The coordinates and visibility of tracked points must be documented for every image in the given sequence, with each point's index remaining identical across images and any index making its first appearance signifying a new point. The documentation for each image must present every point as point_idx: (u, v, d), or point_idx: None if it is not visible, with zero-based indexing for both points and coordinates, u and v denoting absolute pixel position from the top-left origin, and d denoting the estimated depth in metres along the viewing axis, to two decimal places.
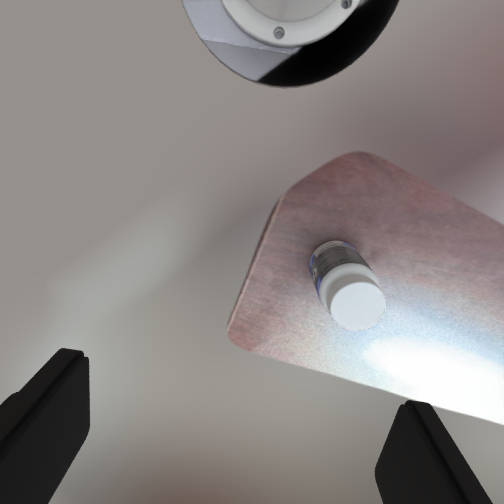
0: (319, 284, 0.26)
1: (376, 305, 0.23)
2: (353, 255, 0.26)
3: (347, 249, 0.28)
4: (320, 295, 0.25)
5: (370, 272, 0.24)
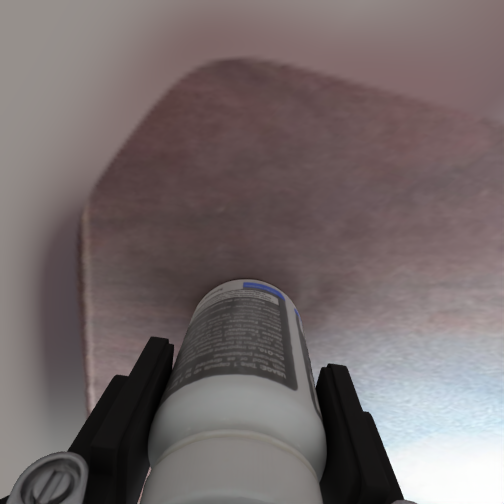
0: None
1: None
2: (242, 331, 0.10)
3: (240, 308, 0.11)
4: None
5: (270, 401, 0.08)
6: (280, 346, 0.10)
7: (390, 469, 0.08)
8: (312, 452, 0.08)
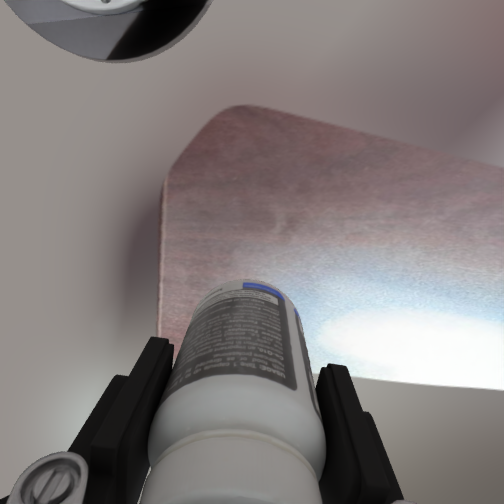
0: None
1: None
2: (241, 331, 0.10)
3: (240, 308, 0.11)
4: None
5: (270, 401, 0.08)
6: (280, 346, 0.10)
7: (389, 469, 0.08)
8: (311, 452, 0.08)
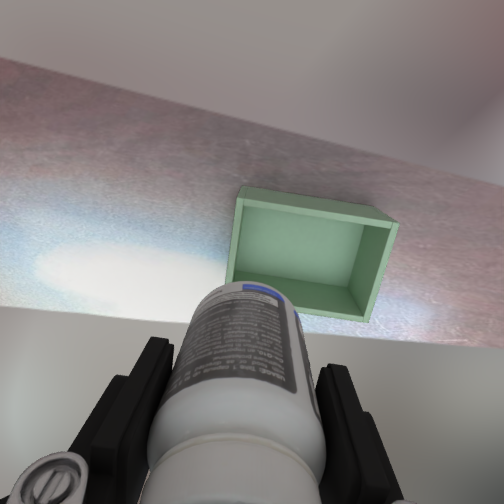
0: None
1: None
2: (241, 334, 0.10)
3: (239, 310, 0.11)
4: None
5: (270, 404, 0.08)
6: (279, 349, 0.09)
7: (390, 469, 0.08)
8: (311, 455, 0.08)
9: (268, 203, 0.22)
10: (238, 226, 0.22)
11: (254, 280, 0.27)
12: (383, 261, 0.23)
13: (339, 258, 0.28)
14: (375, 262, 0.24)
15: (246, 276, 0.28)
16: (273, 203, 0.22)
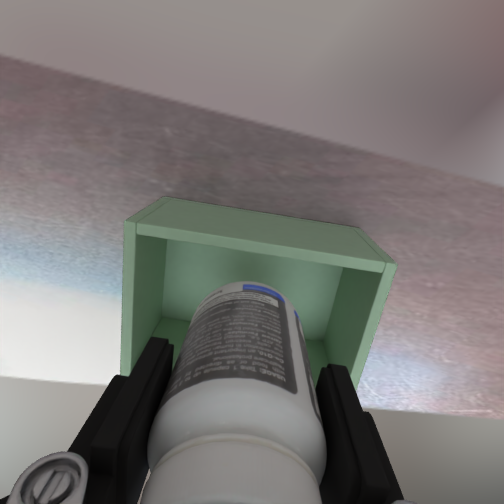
0: None
1: None
2: (242, 334, 0.10)
3: (240, 310, 0.11)
4: None
5: (270, 405, 0.08)
6: (280, 349, 0.09)
7: (390, 469, 0.08)
8: (312, 456, 0.08)
9: (177, 231, 0.13)
10: (131, 267, 0.13)
11: (184, 335, 0.19)
12: (371, 323, 0.14)
13: (310, 302, 0.19)
14: (359, 321, 0.15)
15: (174, 328, 0.19)
16: (186, 231, 0.13)
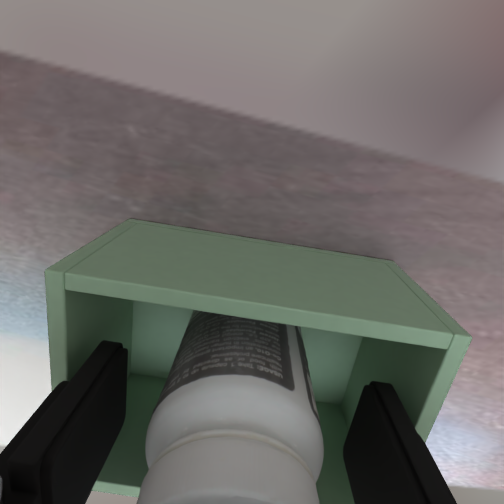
0: None
1: None
2: (239, 332, 0.10)
3: None
4: None
5: (267, 401, 0.08)
6: (277, 346, 0.10)
7: (451, 498, 0.07)
8: (309, 452, 0.08)
9: (128, 286, 0.08)
10: (61, 338, 0.09)
11: None
12: (424, 419, 0.09)
13: (325, 356, 0.15)
14: None
15: (145, 391, 0.14)
16: (142, 285, 0.08)
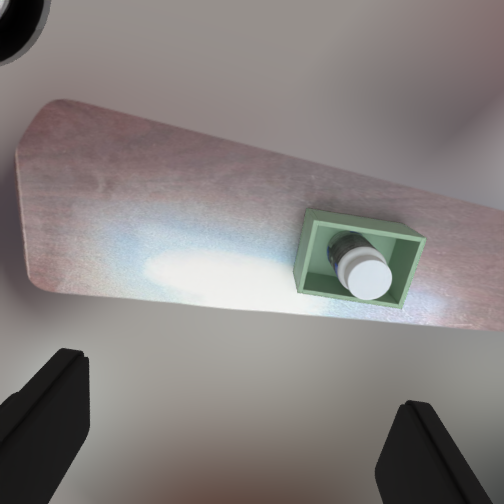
0: (336, 269, 0.32)
1: (383, 276, 0.29)
2: (359, 240, 0.33)
3: (354, 236, 0.34)
4: (339, 277, 0.32)
5: (374, 251, 0.30)
6: (371, 244, 0.32)
7: None
8: None
9: (335, 224, 0.31)
10: (313, 239, 0.32)
11: (314, 278, 0.37)
12: (414, 264, 0.32)
13: None
14: (407, 265, 0.33)
15: (307, 275, 0.37)
16: (339, 224, 0.31)
